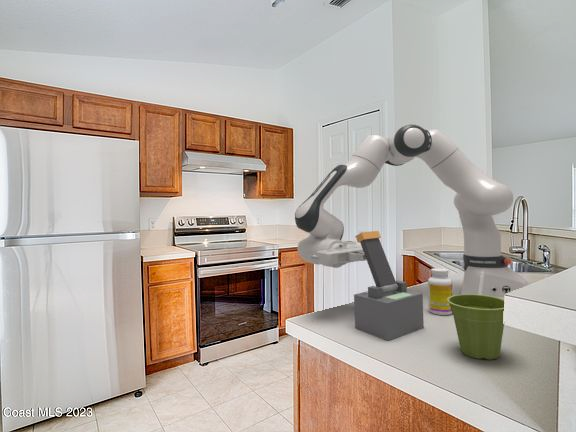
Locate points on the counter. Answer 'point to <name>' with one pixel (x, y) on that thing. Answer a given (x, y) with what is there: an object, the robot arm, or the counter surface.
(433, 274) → the supplement bottle
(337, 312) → the counter surface
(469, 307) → the plant pot
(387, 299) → the box
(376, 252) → the lever
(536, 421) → the counter surface
